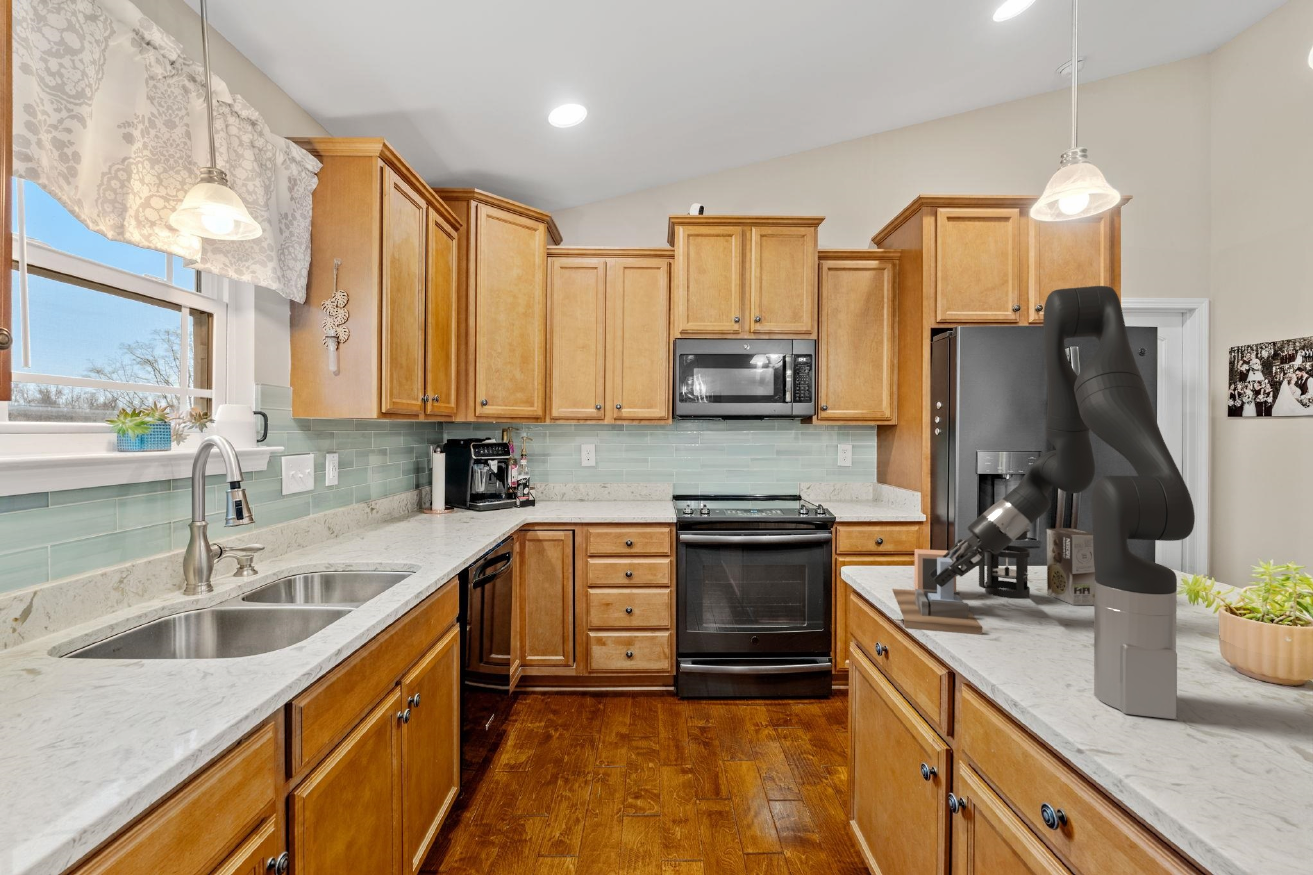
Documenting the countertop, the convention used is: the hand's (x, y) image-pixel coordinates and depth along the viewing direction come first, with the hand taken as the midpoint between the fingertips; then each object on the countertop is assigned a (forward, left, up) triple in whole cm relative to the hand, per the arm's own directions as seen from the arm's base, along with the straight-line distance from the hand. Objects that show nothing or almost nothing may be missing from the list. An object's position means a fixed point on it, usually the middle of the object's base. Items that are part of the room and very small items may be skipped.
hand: (935, 580), depth 123 cm
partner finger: (+12, -2, -6) cm, 14 cm away
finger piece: (0, -2, -5) cm, 5 cm away
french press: (+18, -18, -8) cm, 26 cm away
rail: (+3, 0, -8) cm, 8 cm away
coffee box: (+22, -33, -8) cm, 40 cm away
